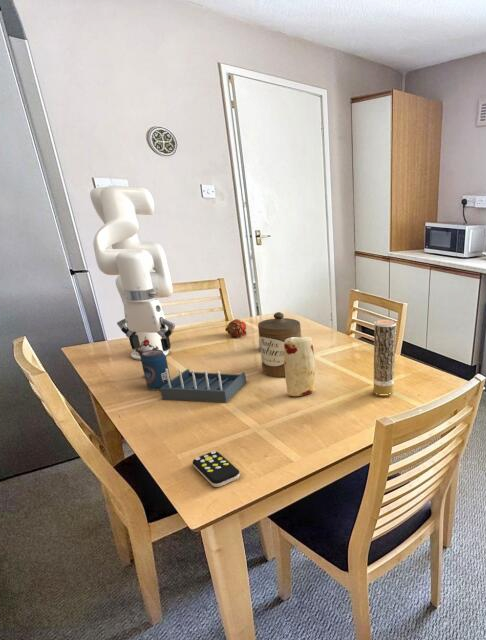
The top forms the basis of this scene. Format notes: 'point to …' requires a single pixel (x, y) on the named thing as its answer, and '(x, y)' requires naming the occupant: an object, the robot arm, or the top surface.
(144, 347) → the sundae
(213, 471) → the remote control
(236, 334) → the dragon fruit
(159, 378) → the soda can
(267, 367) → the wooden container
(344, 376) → the top surface
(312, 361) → the food model
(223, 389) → the dish rack
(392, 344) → the wooden log
